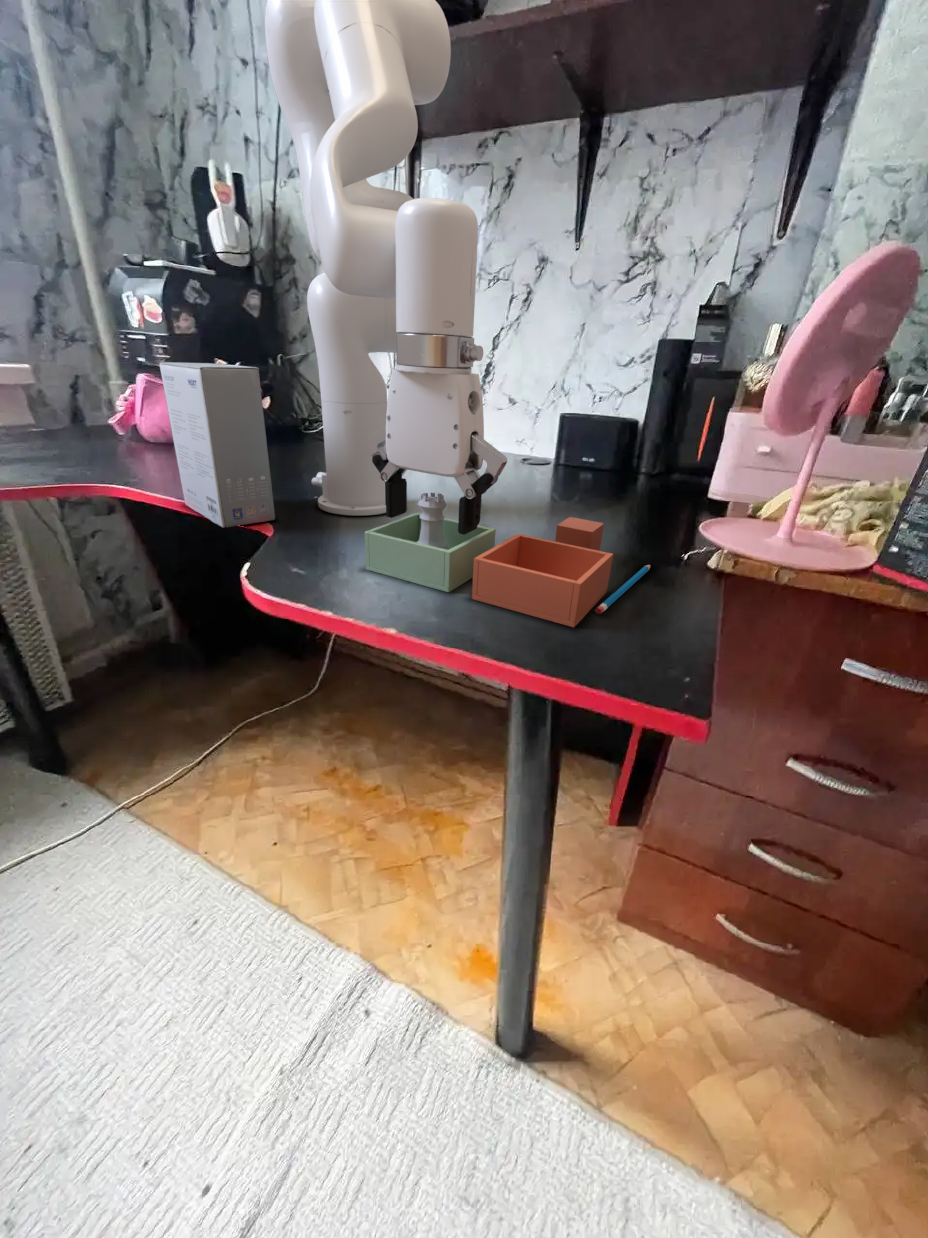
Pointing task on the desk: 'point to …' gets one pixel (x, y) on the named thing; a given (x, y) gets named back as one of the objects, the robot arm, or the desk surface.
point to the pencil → (621, 590)
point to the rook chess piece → (432, 520)
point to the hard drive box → (220, 440)
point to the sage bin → (426, 552)
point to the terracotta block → (580, 533)
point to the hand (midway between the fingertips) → (431, 522)
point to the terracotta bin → (542, 578)
